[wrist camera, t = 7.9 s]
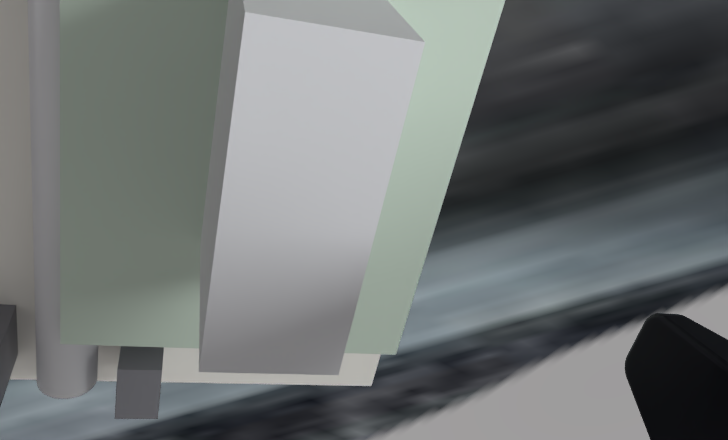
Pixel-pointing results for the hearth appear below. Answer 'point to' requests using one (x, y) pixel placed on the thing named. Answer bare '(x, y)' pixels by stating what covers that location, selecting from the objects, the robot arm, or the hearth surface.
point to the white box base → (16, 268)
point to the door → (240, 174)
